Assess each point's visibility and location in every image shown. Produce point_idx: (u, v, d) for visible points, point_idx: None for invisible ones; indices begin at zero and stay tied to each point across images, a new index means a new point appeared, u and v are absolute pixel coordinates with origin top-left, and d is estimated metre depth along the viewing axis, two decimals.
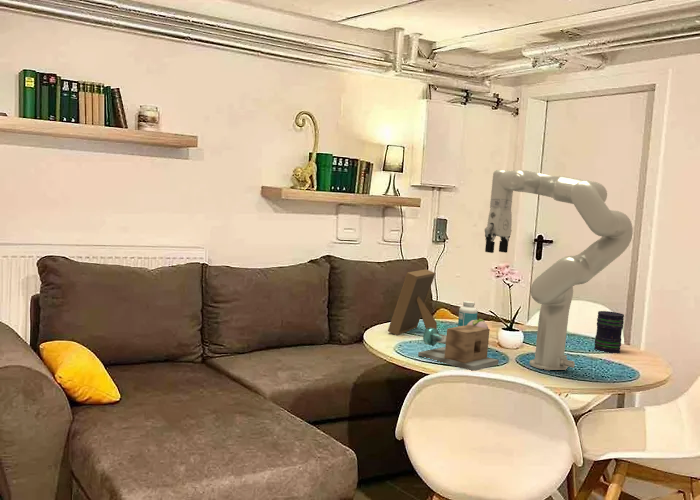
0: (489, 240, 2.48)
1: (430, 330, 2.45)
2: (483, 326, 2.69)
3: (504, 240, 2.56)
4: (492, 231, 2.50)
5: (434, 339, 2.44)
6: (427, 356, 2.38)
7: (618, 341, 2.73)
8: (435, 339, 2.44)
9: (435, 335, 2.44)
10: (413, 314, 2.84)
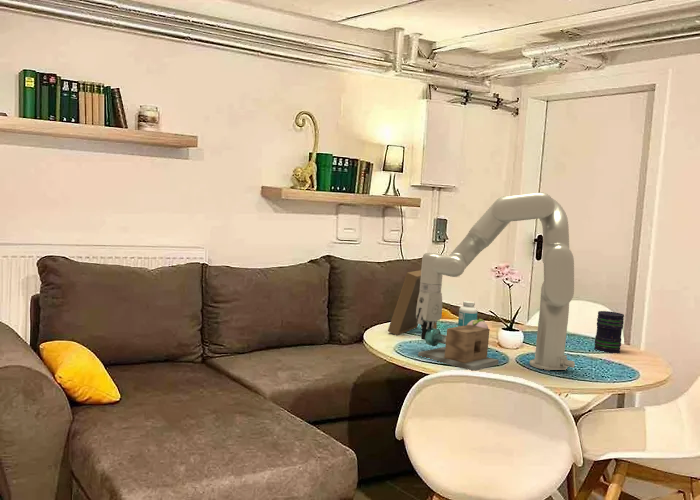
0: (425, 329, 2.47)
1: (432, 330, 2.44)
2: (483, 326, 2.69)
3: (428, 325, 2.48)
4: None
5: (436, 339, 2.44)
6: (427, 356, 2.38)
7: (618, 341, 2.73)
8: (437, 339, 2.43)
9: (437, 335, 2.44)
10: (413, 314, 2.84)
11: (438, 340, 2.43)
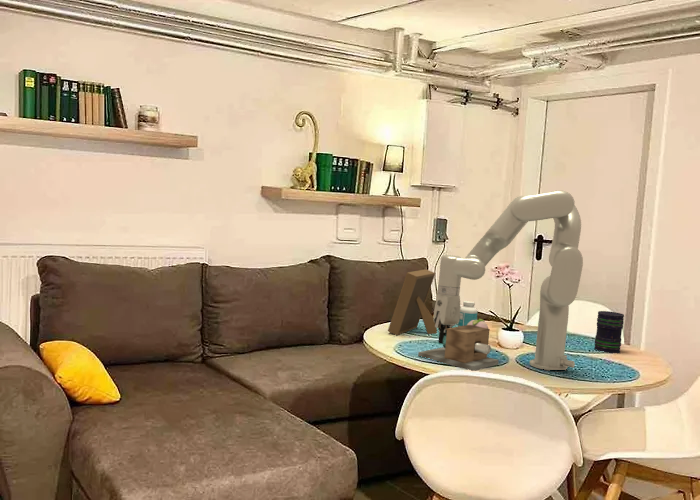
0: (443, 332, 2.42)
1: None
2: (483, 326, 2.69)
3: None
4: None
5: None
6: (427, 356, 2.38)
7: (618, 341, 2.73)
8: None
9: None
10: (413, 314, 2.84)
11: None
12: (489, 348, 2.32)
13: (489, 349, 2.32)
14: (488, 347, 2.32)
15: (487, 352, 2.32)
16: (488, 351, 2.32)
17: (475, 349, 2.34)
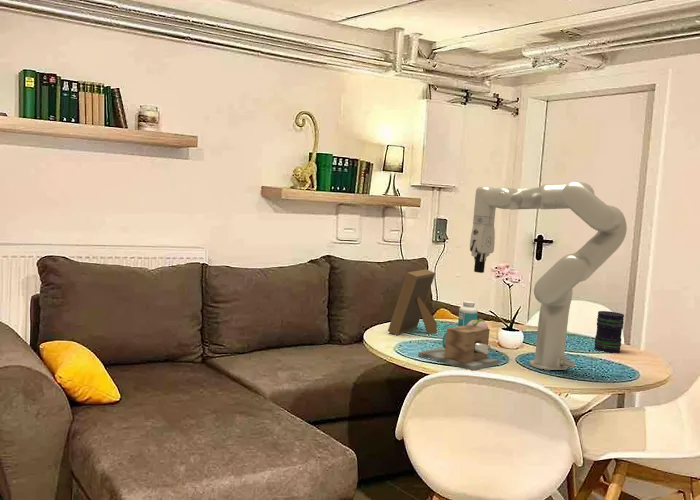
0: (478, 261, 2.52)
1: None
2: (483, 326, 2.69)
3: None
4: None
5: None
6: (427, 356, 2.38)
7: (618, 341, 2.73)
8: None
9: None
10: (413, 314, 2.84)
11: None
12: (489, 348, 2.32)
13: (489, 349, 2.32)
14: (488, 347, 2.32)
15: (487, 352, 2.32)
16: (488, 351, 2.32)
17: (475, 349, 2.34)
